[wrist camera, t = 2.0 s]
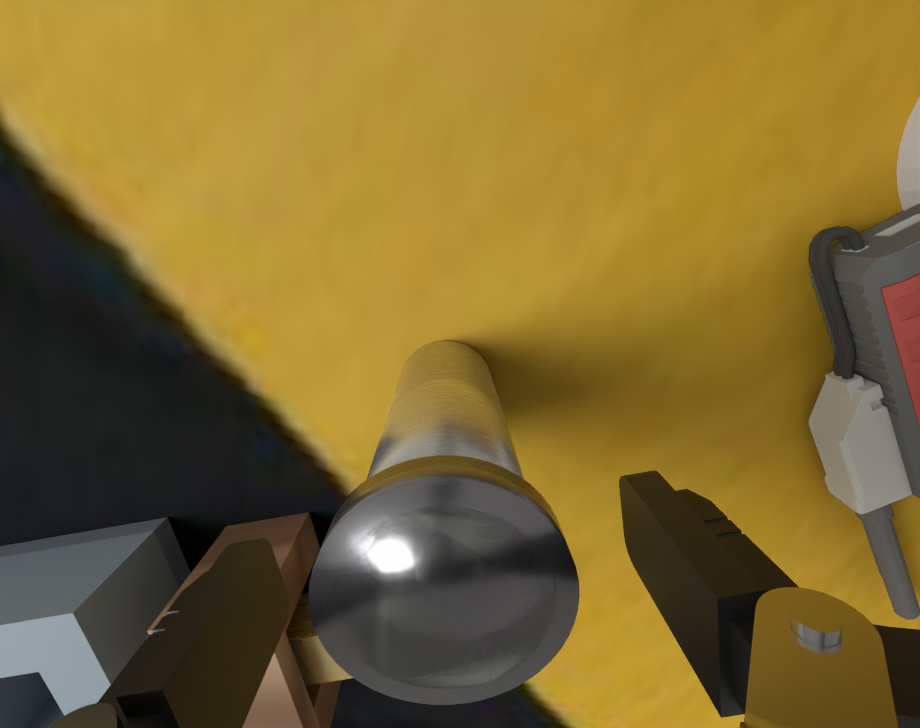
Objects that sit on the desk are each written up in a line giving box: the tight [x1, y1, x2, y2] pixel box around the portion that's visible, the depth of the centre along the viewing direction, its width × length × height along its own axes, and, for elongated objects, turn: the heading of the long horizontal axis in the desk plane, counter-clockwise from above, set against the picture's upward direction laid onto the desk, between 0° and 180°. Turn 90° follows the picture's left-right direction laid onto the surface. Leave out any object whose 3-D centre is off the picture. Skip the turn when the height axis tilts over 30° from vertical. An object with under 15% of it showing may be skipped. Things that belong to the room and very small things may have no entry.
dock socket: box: [0, 517, 191, 728], centre depth 20 cm, size 10×10×6 cm
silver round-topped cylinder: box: [308, 340, 579, 705], centre depth 14 cm, size 5×5×12 cm
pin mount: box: [147, 512, 341, 728], centre depth 19 cm, size 8×4×6 cm, turn 10°
